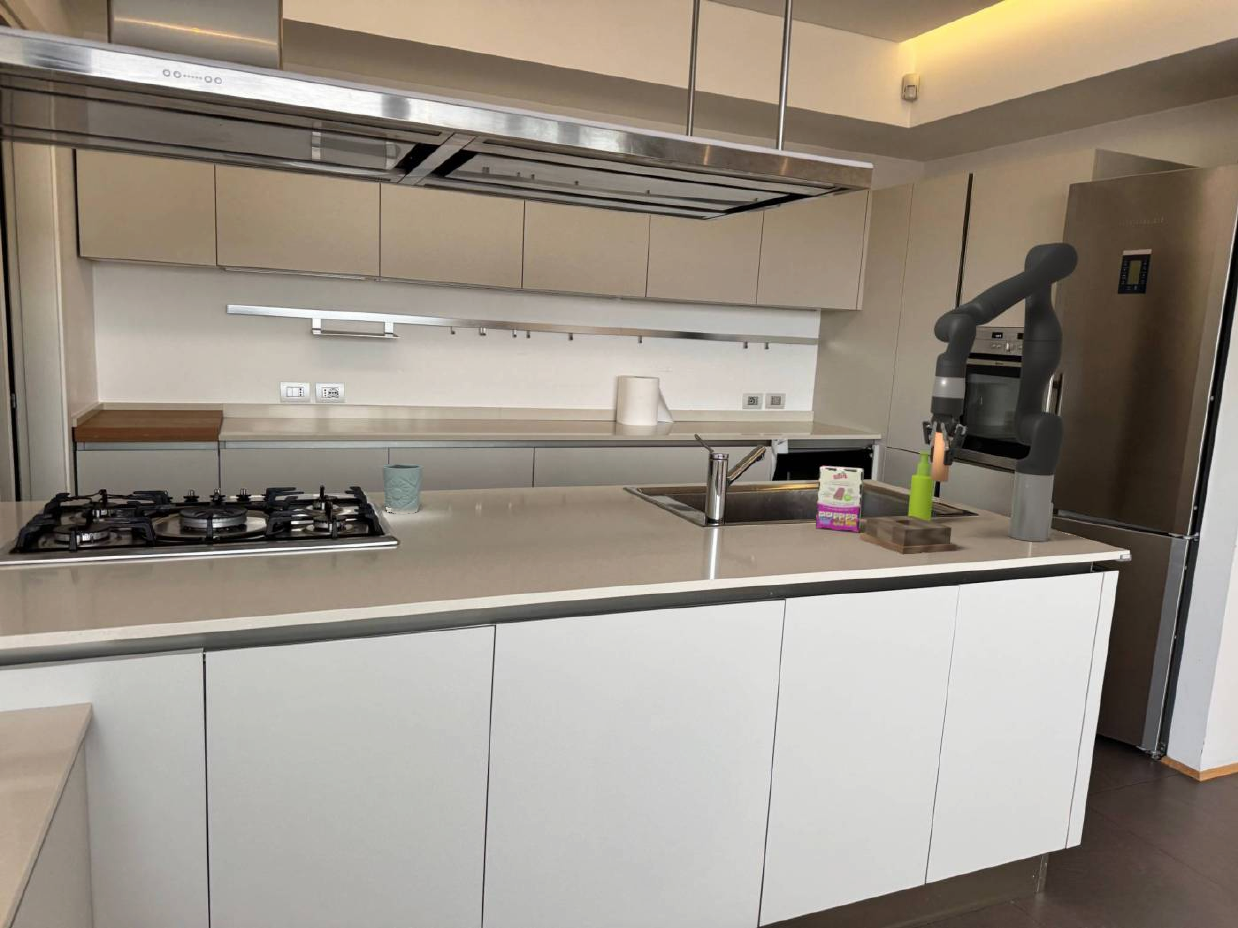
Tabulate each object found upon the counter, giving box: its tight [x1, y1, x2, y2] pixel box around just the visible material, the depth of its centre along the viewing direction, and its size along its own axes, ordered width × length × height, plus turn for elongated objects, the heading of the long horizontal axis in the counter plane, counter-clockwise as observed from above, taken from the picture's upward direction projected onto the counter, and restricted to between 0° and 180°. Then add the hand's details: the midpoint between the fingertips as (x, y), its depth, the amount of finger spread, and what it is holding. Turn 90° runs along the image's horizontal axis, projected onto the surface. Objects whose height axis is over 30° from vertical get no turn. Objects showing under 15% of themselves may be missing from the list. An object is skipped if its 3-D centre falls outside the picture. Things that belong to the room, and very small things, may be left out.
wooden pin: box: [930, 432, 952, 483], centre depth 221 cm, size 4×4×12 cm
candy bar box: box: [815, 465, 865, 533], centre depth 231 cm, size 11×5×16 cm, turn 71°
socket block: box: [859, 515, 957, 555], centre depth 217 cm, size 16×16×6 cm
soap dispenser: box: [907, 451, 935, 521], centre depth 244 cm, size 6×7×20 cm
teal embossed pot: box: [382, 463, 423, 510], centre depth 230 cm, size 10×10×12 cm
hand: (940, 463), depth 221 cm, fingers closed on wooden pin, 4 cm apart
